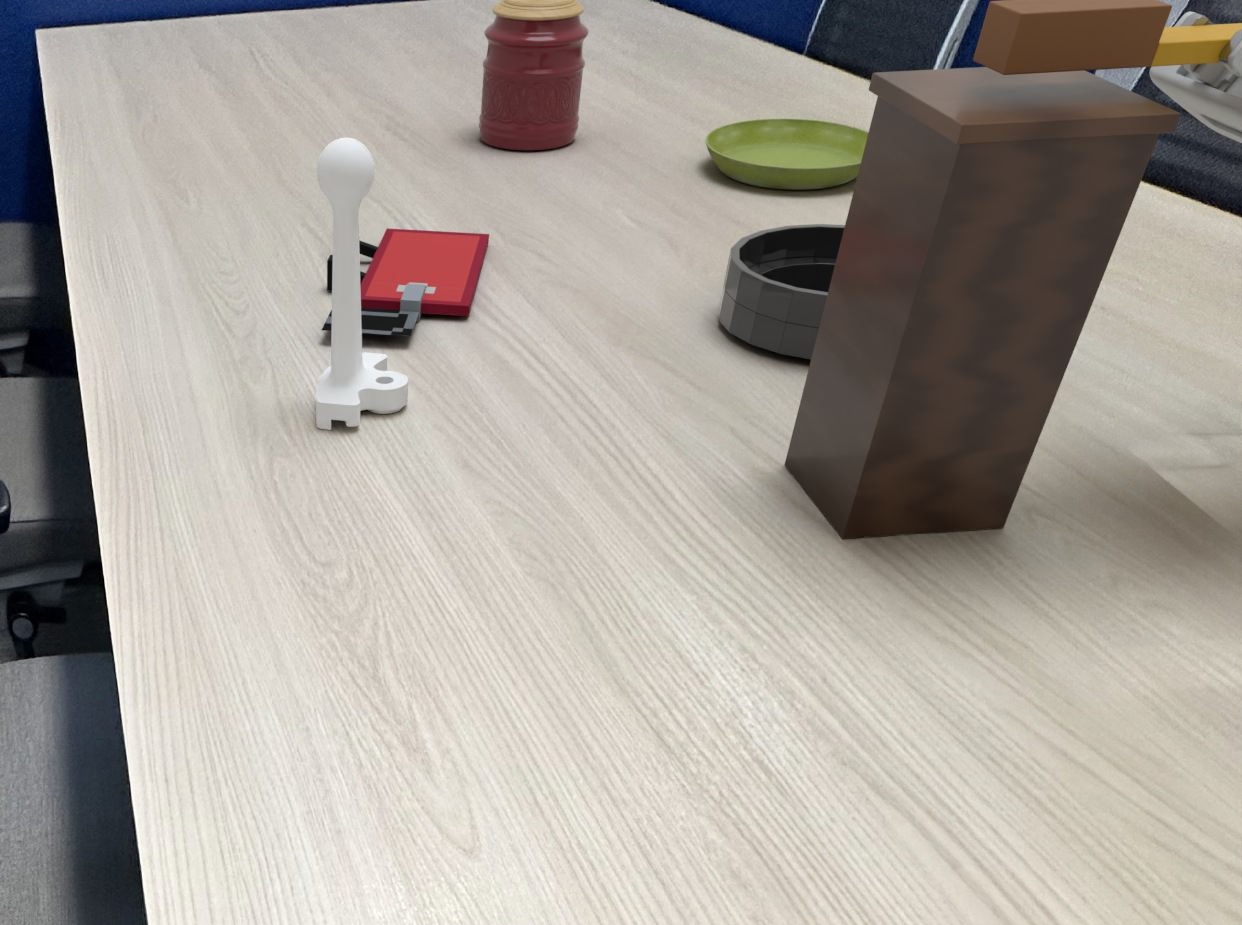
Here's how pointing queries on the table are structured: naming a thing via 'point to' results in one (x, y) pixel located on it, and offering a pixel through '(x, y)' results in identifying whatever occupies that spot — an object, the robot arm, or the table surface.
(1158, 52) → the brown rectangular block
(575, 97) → the kitchen canister
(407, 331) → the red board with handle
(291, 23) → the table surface
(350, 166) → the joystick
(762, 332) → the bowl
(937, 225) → the stand
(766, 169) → the saucer
